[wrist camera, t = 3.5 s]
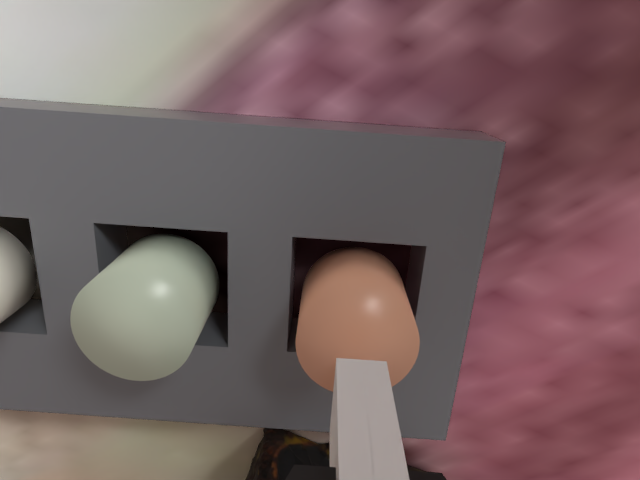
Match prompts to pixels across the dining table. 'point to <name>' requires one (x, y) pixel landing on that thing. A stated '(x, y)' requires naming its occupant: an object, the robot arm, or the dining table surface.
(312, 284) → the terracotta button
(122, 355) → the sage button
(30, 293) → the cream button
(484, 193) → the panel
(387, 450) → the robot arm
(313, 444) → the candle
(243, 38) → the dining table surface
